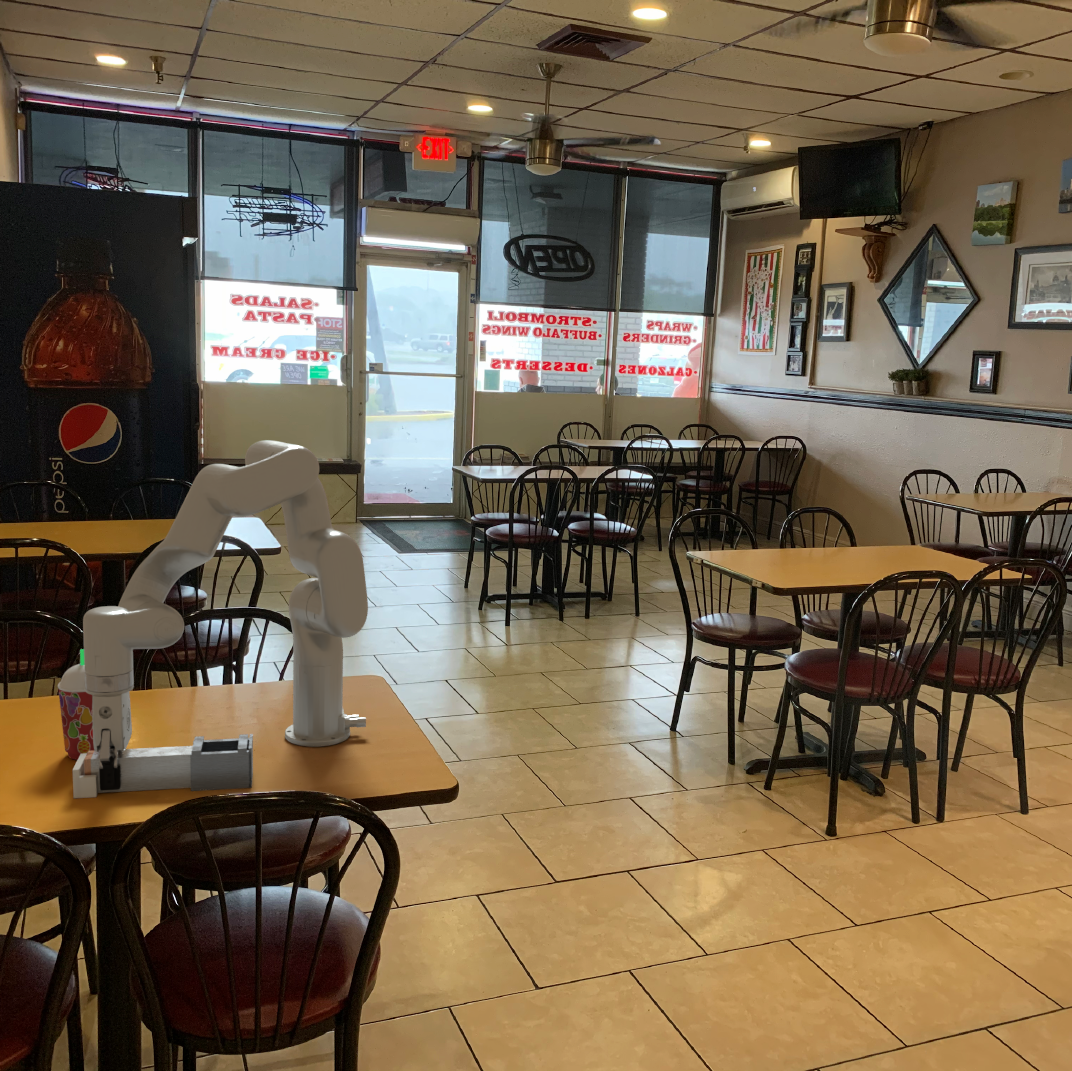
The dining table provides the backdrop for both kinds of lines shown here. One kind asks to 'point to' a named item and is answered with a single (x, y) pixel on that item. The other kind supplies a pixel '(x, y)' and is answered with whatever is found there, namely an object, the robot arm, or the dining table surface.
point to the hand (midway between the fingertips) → (112, 782)
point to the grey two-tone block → (147, 768)
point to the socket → (83, 780)
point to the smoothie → (76, 711)
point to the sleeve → (221, 763)
